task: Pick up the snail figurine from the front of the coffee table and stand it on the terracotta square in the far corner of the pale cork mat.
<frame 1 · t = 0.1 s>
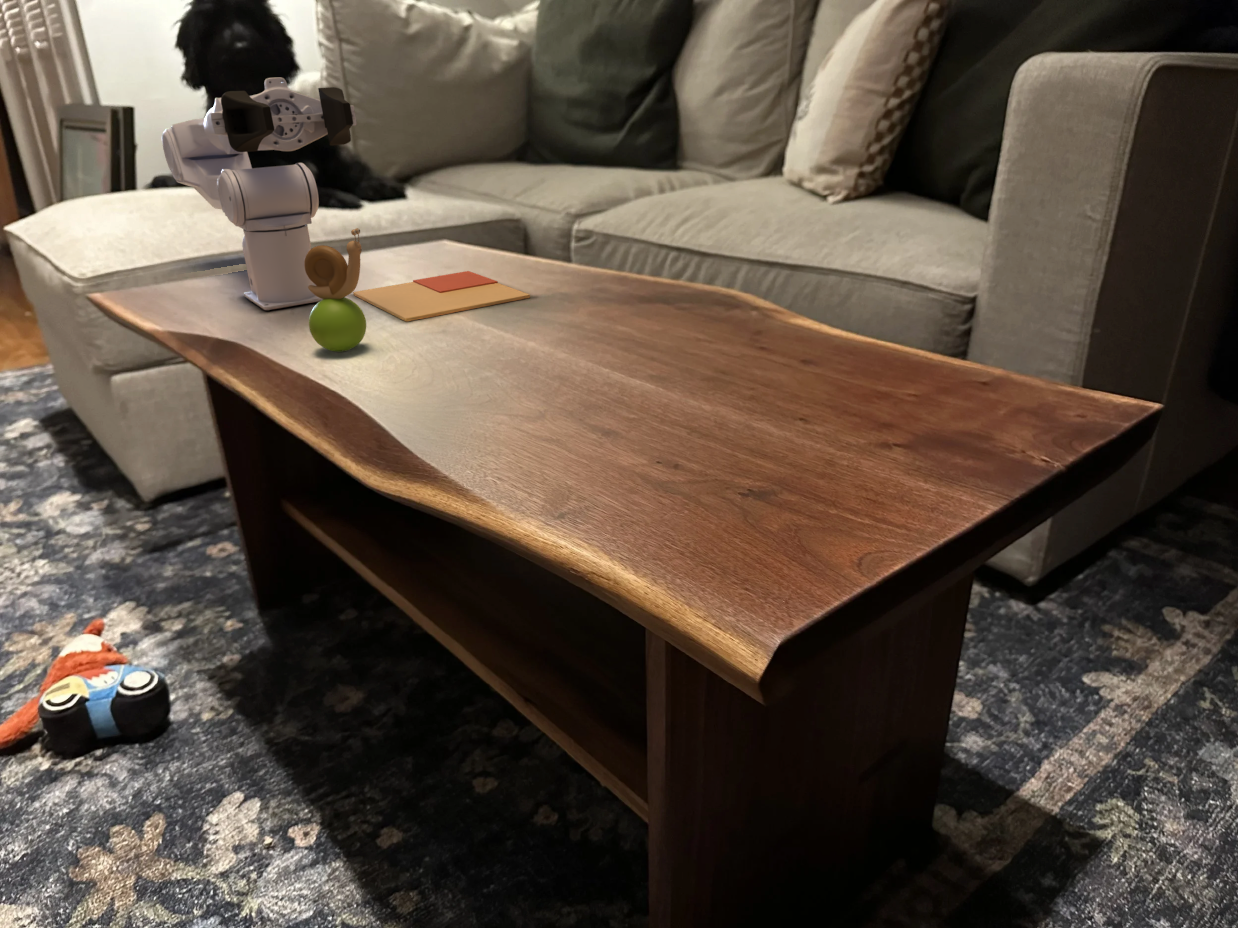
hand: (309, 116, 84), 22 cm above the table, tool horizontal, fingers open, 7 cm apart
snail figurine: (346, 352, 87), on the table
corner mat: (440, 296, 107), on the table
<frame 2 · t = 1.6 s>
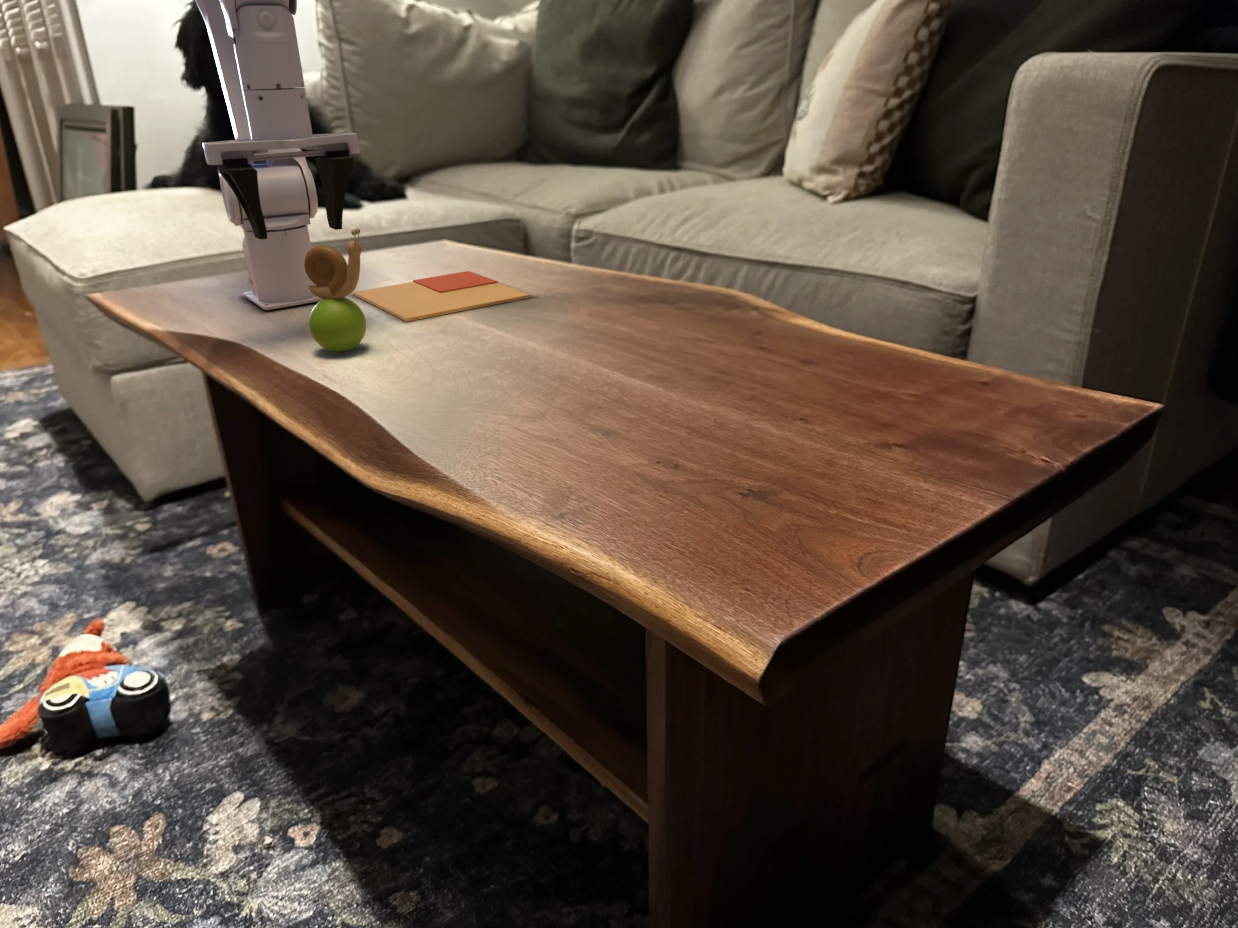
hand: (299, 233, 90), 10 cm above the table, tool pointing down, fingers open, 7 cm apart
nothing on the table moved.
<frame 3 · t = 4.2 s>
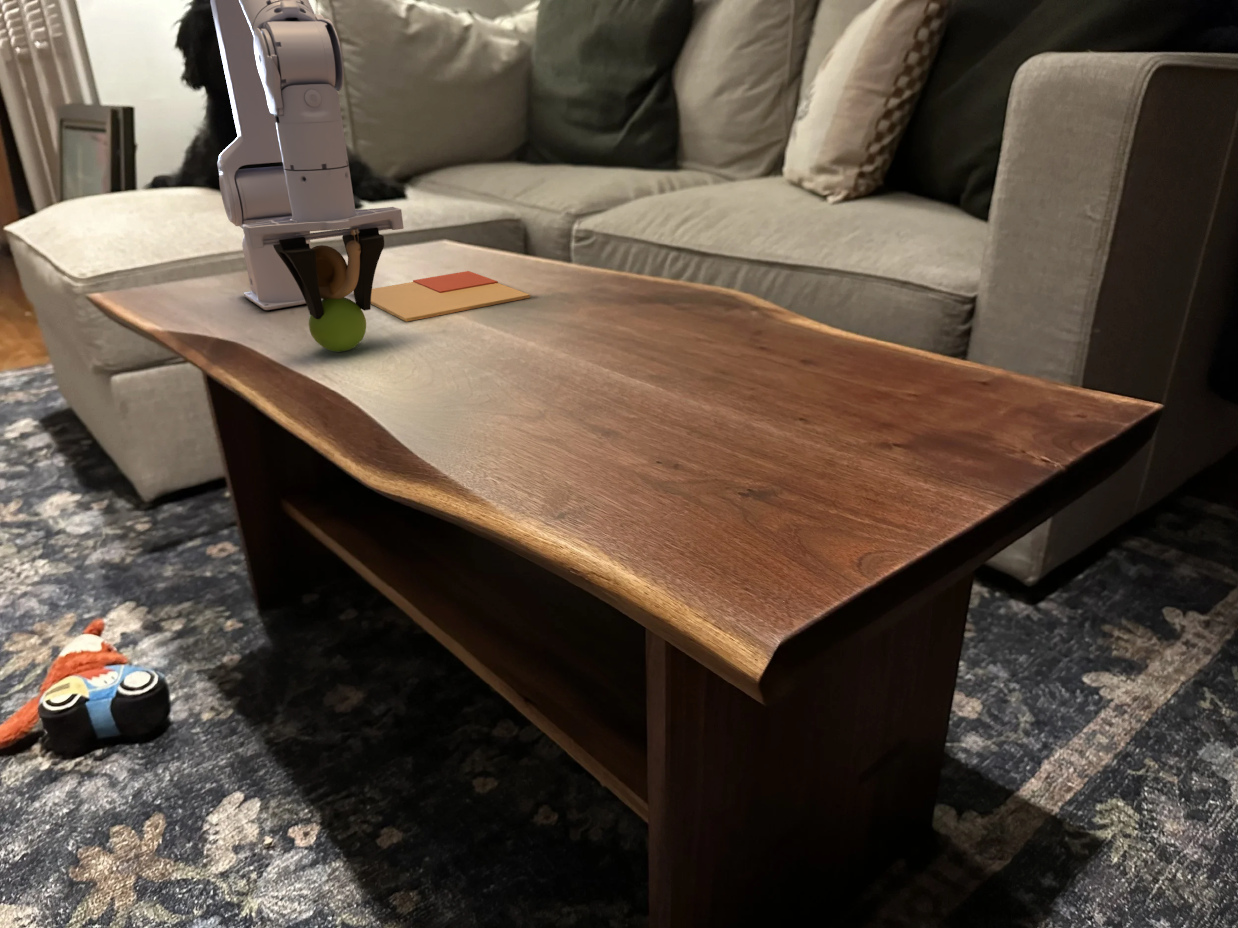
hand: (340, 312, 86), 4 cm above the table, tool pointing down, fingers closed on snail figurine, 4 cm apart
snail figurine: (347, 352, 87), on the table, touching gripper
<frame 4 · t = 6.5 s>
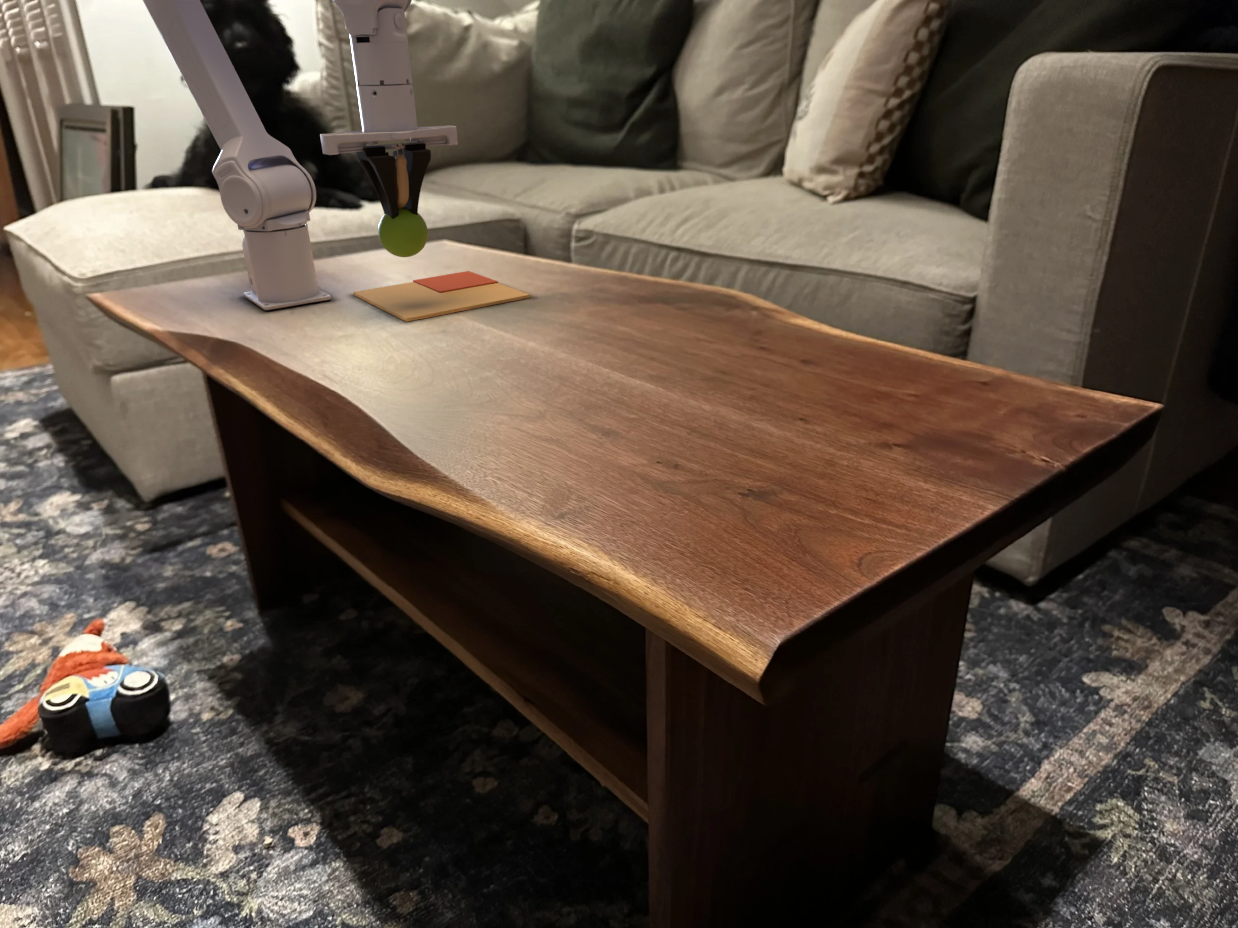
hand: (401, 219, 96), 10 cm above the table, tool pointing down, fingers closed on snail figurine
snail figurine: (409, 259, 98), point 6 cm above the table, touching gripper
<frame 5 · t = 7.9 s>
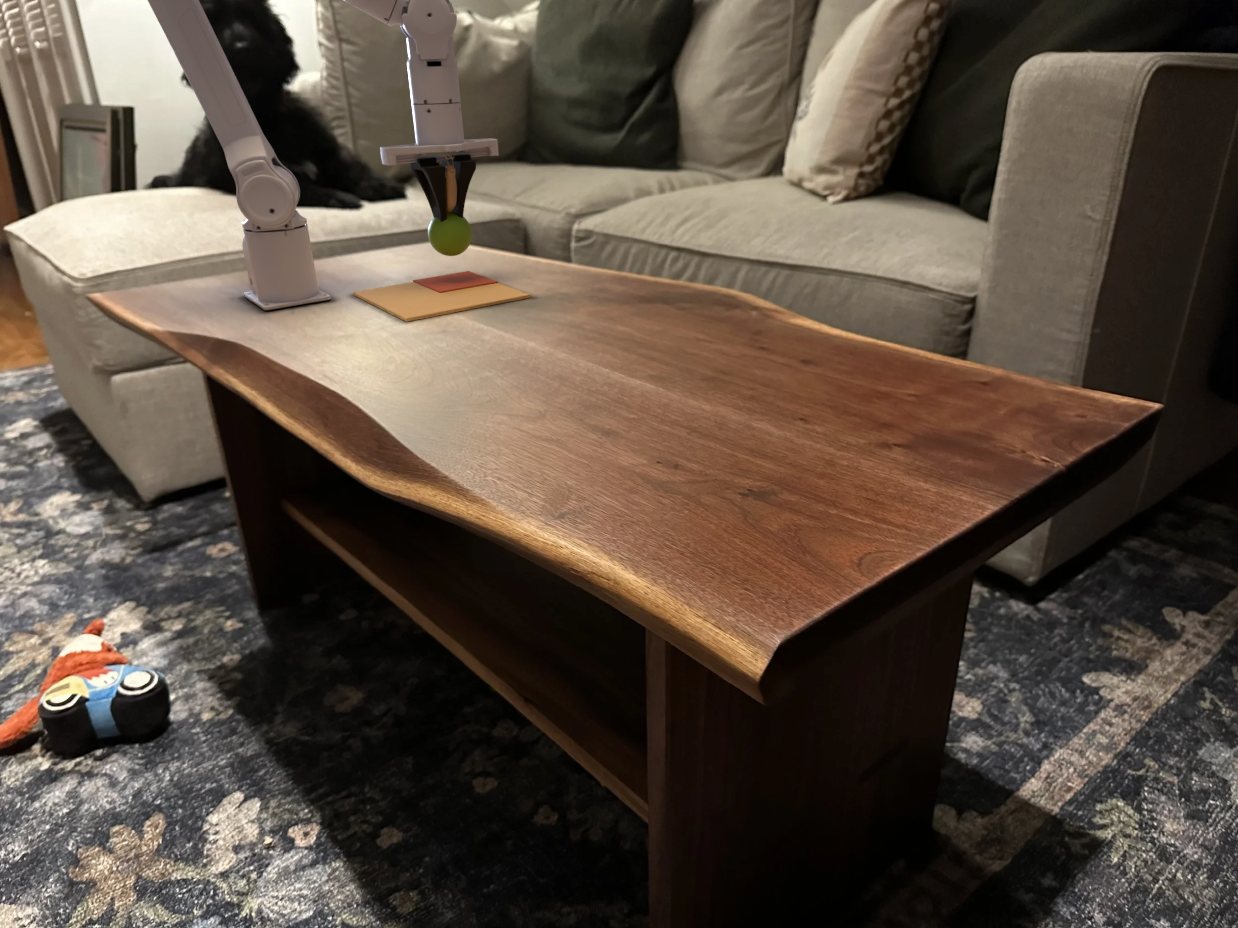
hand: (448, 221, 108), 8 cm above the table, tool pointing down, fingers closed on snail figurine
snail figurine: (455, 257, 110), point 4 cm above the table, touching gripper
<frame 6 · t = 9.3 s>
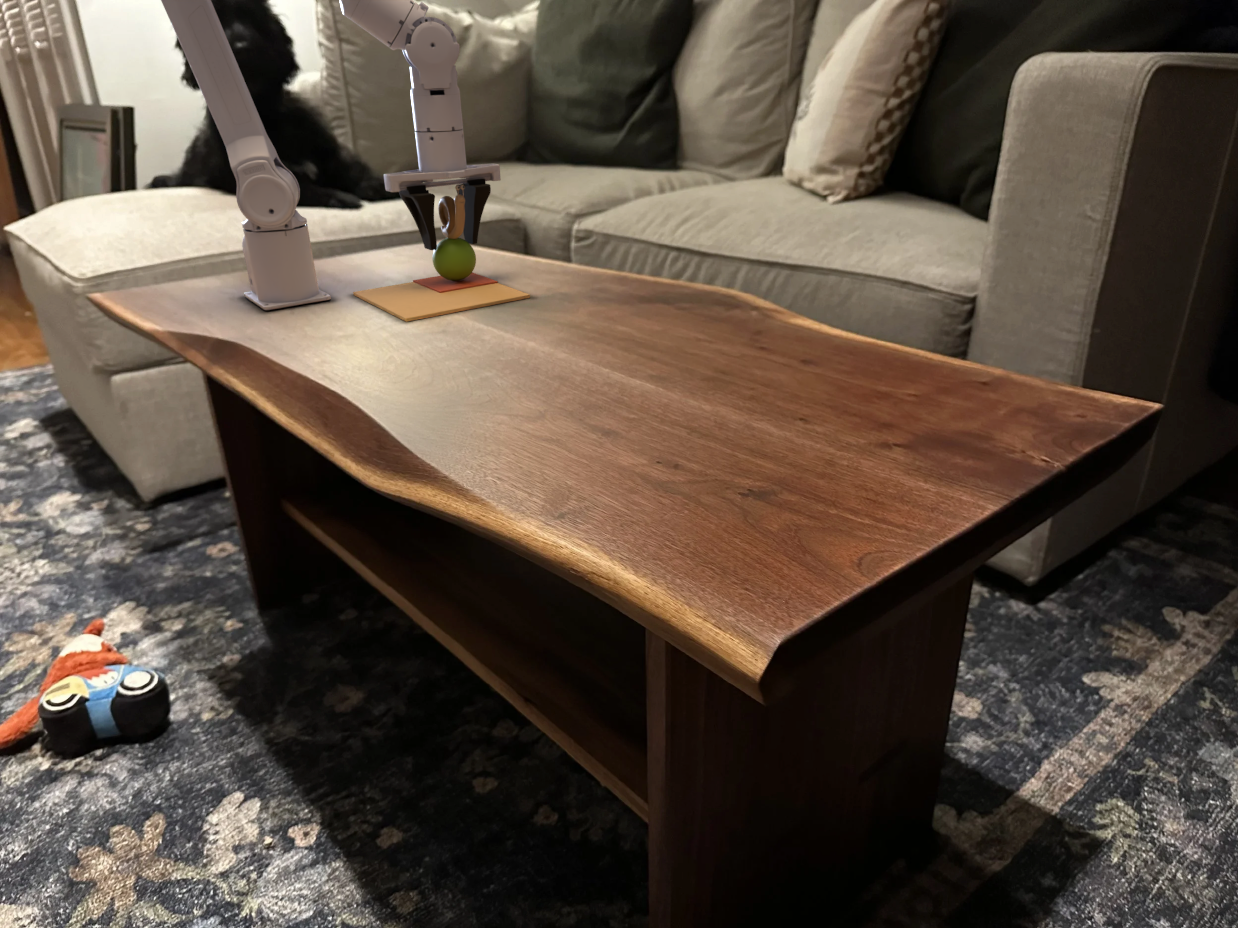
hand: (451, 246, 110), 5 cm above the table, tool pointing down, fingers open, 5 cm apart
snail figurine: (458, 282, 111), resting on corner mat
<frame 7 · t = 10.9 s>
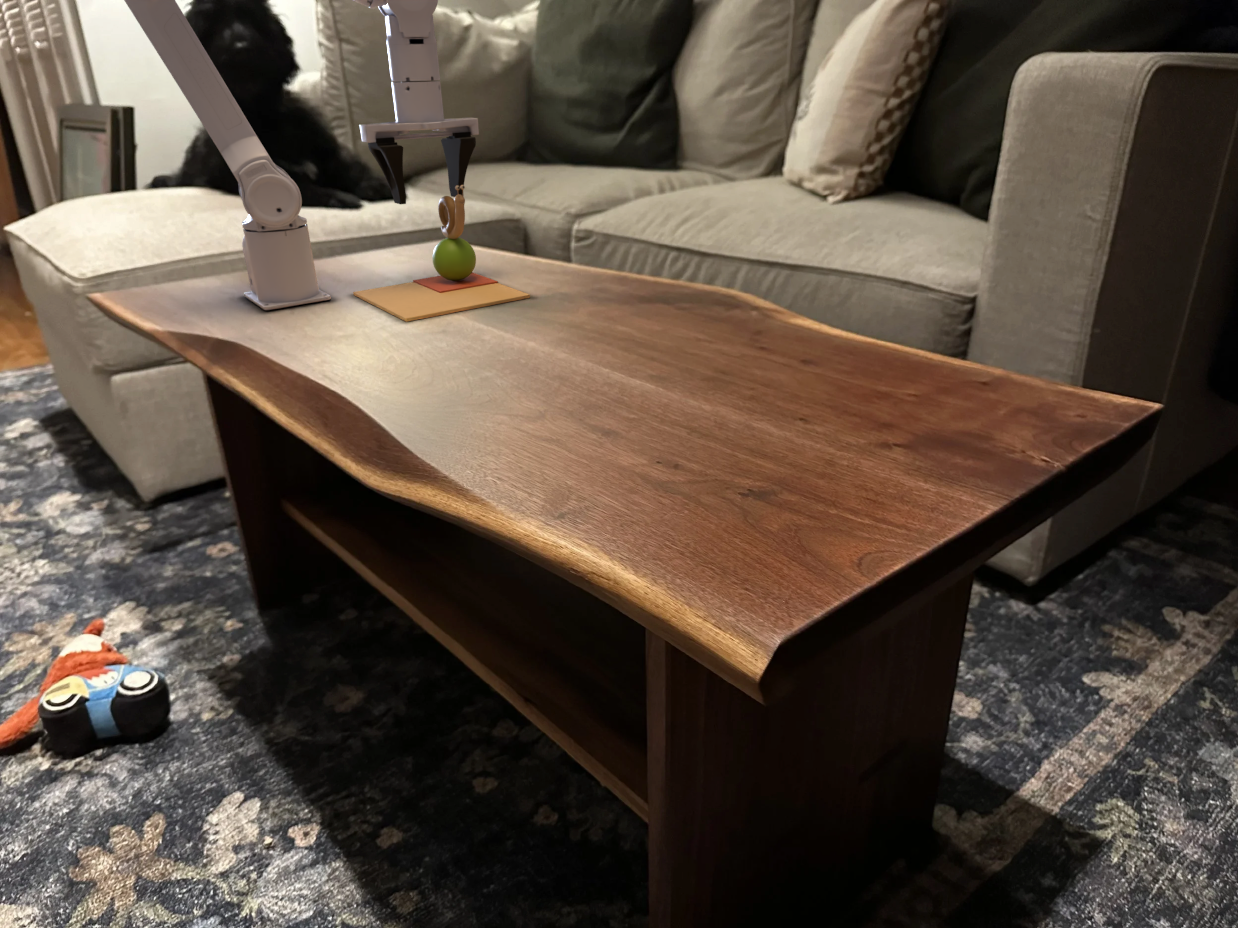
hand: (429, 200, 109), 10 cm above the table, tool pointing down, fingers open, 7 cm apart
nothing on the table moved.
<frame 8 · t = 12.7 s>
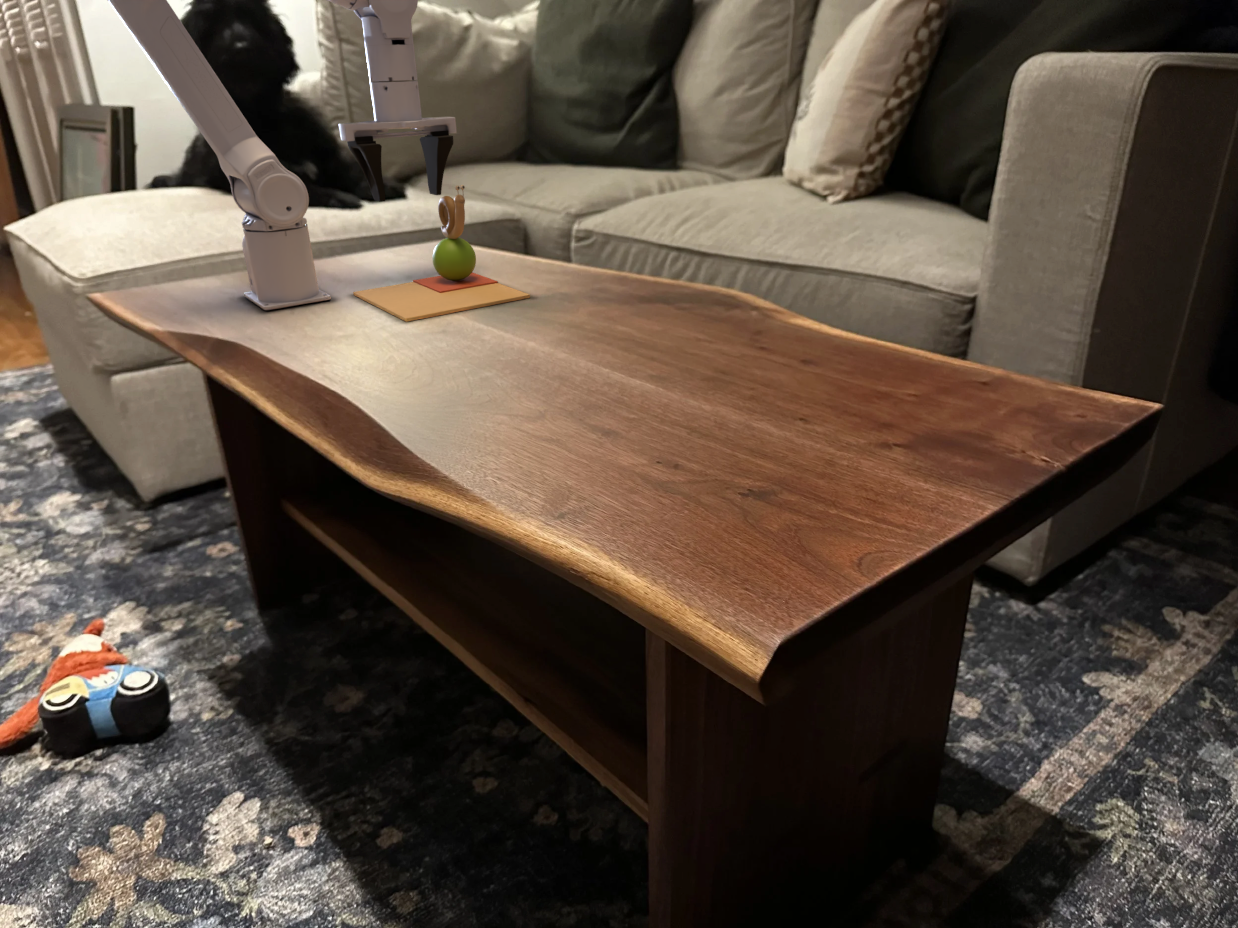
hand: (408, 197, 111), 10 cm above the table, tool pointing down, fingers open, 7 cm apart
nothing on the table moved.
at the end: snail figurine inside the target area on the corner mat (0.6 cm from its centre), point 0.4 cm above the corner mat's base; snail figurine tilted 0°; the gripper is holding nothing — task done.
